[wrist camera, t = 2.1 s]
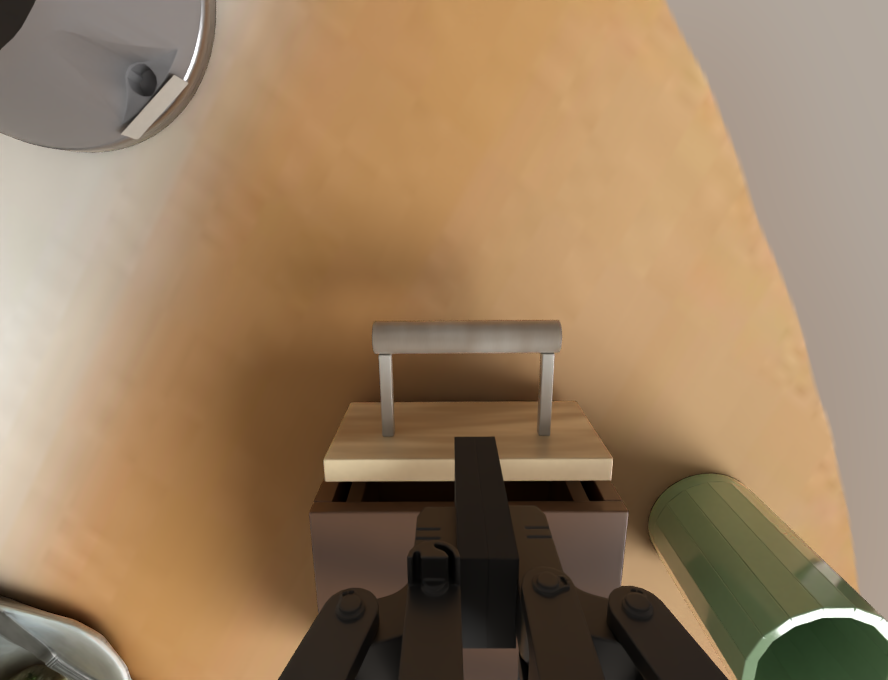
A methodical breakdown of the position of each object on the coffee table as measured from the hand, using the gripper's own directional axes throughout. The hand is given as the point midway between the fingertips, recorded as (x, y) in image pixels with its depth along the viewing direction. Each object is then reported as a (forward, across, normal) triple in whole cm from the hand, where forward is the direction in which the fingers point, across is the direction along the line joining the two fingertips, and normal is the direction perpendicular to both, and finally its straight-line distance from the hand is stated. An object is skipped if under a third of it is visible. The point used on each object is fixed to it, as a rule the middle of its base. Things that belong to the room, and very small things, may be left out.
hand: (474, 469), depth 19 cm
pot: (+12, +16, -11) cm, 23 cm away
